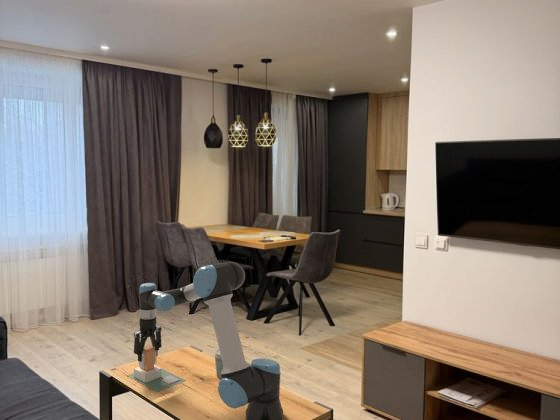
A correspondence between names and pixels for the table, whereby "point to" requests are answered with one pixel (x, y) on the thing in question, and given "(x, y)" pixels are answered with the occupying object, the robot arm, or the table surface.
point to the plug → (148, 357)
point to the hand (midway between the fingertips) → (147, 365)
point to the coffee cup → (218, 364)
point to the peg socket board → (156, 378)
